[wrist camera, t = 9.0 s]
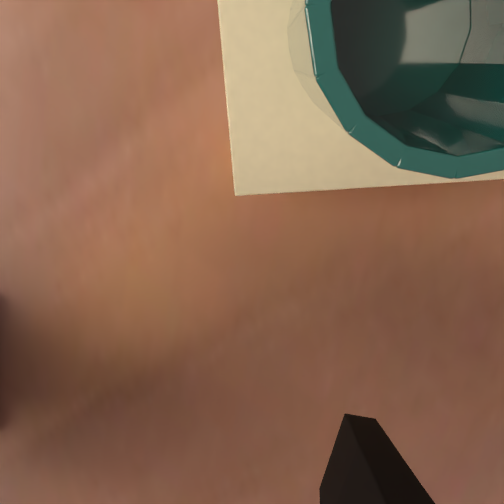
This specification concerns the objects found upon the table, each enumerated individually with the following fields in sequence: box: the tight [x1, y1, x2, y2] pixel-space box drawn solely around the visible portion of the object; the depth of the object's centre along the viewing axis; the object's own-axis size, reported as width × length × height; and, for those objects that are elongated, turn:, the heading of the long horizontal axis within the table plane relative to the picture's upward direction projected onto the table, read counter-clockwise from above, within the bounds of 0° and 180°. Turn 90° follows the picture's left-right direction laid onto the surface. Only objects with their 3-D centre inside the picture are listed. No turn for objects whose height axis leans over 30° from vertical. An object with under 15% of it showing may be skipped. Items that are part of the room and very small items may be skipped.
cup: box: [287, 0, 504, 179], centre depth 10 cm, size 5×5×6 cm
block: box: [217, 0, 504, 196], centre depth 14 cm, size 9×9×3 cm
